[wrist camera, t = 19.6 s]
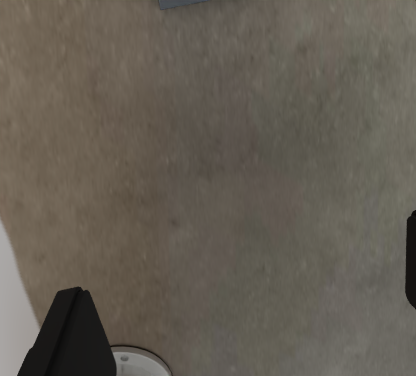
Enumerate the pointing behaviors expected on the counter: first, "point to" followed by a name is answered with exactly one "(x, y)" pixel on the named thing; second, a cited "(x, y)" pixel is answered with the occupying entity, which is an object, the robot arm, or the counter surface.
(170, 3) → the slate blue square block
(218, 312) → the counter surface
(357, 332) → the counter surface
